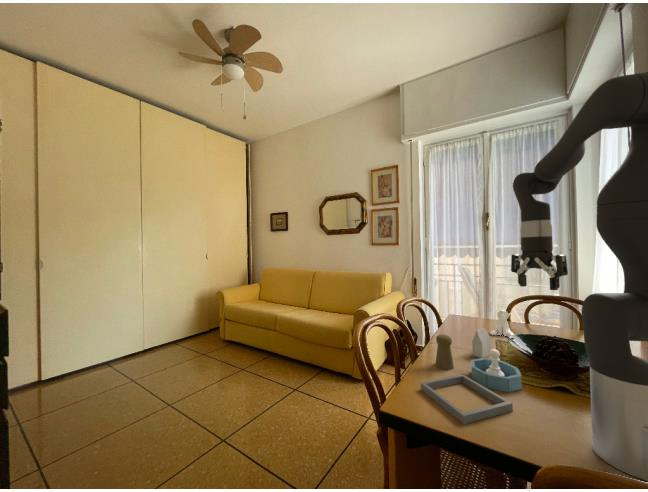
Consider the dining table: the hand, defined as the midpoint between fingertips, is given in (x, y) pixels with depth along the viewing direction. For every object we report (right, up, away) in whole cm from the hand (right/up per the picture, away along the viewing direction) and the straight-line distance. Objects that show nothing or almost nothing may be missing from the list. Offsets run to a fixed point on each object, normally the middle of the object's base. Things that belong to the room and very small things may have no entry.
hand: (537, 288), depth 77 cm
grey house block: (-3, -31, +22) cm, 38 cm away
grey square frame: (-27, -31, -6) cm, 41 cm away
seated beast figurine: (+21, -31, +44) cm, 58 cm away
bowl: (-11, -30, +3) cm, 32 cm away
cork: (-22, -31, +14) cm, 40 cm away
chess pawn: (-11, -30, +3) cm, 32 cm away
